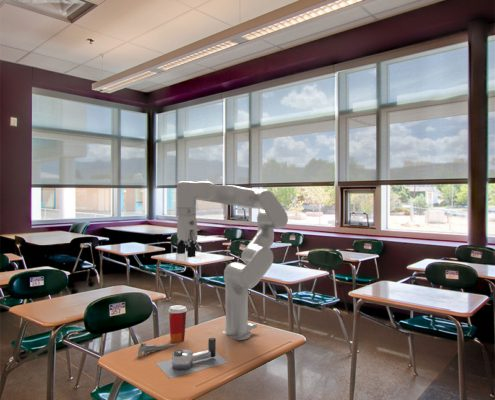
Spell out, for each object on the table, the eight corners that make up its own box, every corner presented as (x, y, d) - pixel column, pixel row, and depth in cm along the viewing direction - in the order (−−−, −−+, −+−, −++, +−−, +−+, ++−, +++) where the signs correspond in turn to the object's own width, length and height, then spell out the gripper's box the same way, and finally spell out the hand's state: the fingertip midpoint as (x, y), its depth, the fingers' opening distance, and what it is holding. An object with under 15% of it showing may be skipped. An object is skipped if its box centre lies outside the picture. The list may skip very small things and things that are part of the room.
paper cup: (179, 336, 162) (179, 303, 162) (190, 340, 156) (190, 307, 156) (164, 340, 156) (164, 307, 156) (175, 346, 151) (175, 311, 151)
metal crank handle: (210, 353, 140) (210, 335, 139) (219, 360, 134) (219, 341, 134) (169, 363, 131) (169, 344, 131) (176, 371, 125) (176, 351, 125)
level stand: (211, 353, 144) (211, 349, 144) (228, 366, 133) (228, 362, 133) (155, 367, 132) (155, 362, 132) (169, 382, 121) (169, 377, 121)
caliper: (139, 361, 137) (139, 344, 137) (137, 360, 137) (138, 343, 137) (184, 346, 151) (184, 330, 151) (183, 345, 152) (183, 330, 152)
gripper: (204, 213, 144) (204, 257, 144) (186, 211, 159) (186, 251, 159) (186, 213, 140) (186, 259, 140) (169, 211, 155) (169, 253, 155)
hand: (186, 255), depth 149 cm, fingers open, 9 cm apart
